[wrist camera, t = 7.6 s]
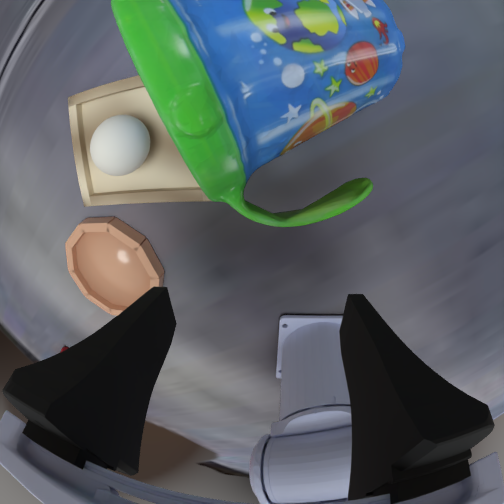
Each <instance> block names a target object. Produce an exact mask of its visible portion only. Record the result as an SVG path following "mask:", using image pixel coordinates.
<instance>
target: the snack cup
mask: <svg viewBox="0 0 504 504" xmlns="http://www.w3.org/2000/svg"><path fill="white" fill-rule="evenodd" d="M111 6H112V10H113V13H114V17H115V19H116V22H117V25H118V27H119V30H120V32H121V35H122V37H123V40H124V43H125V45H126V48H127V50H128V52H129V54H130V56H131V58H132V61H133V63H134V65H135V67H136V69H137V72H138V74H139V76H140V78H141V80H142V82H143V84H144V86H145V88H146V90H147V92H148V94H149V96H150V98H151V100H152V102H153V104H154V106H155V108H156V110H157V112H158V114H159V116H160V118H161V120H162V122H163V124H164V125H165V127H166V129H167V131H168V133H169V135H170V137H171V138H172V140H173V142H174V144H175V145H176V147H177V149H178V151H179V153H180V155H181V156H182V158H183V160H184V162H185V163H186V165H187V167H188V168H189V170H190V172H191V174H192V175H193V177H194V179H195V180H196V182H197V183H198V185H199V186H200V188H201V189H202V191H203V192H204V193H205V195H206V196H207V197H208V199H210V200H211V201H214V202H226V203H228V204H229V205H230V206H231V207H232V208H234V209H235V210H236V211H237V212H239V213H240V214H242V215H243V216H245V217H247V218H248V219H250V220H253V221H255V222H258V223H261V224H265V225H269V226H277V227H294V226H302V225H307V224H312V223H316V222H319V221H323V220H326V219H328V218H331V217H333V216H336V215H339V214H341V213H343V212H345V211H347V210H349V209H350V208H352V207H354V206H355V205H356V204H358V203H359V202H361V201H362V200H364V199H365V198H366V197H367V196H368V195H369V194H370V192H371V191H372V189H373V183H372V182H371V180H370V179H368V178H358V179H354V180H351V181H349V182H346V183H344V184H343V185H341V186H340V187H339V188H337V189H335V190H334V191H332V192H330V193H328V194H327V195H325V196H324V197H322V198H321V199H319V200H317V201H316V202H314V203H312V204H310V205H309V206H307V207H305V208H304V209H301V210H293V211H287V212H279V213H273V214H272V213H270V212H268V211H266V210H264V209H262V208H260V207H257V206H255V205H253V204H251V203H249V202H247V201H245V200H244V197H243V192H244V188H245V185H246V183H247V181H248V179H249V177H250V176H251V175H252V173H253V172H254V171H255V170H257V169H258V168H259V167H261V166H262V165H264V164H266V163H268V162H270V161H271V160H273V159H274V158H276V157H279V156H281V155H283V154H285V153H286V152H288V151H290V150H291V149H293V148H294V147H296V146H298V145H300V144H301V143H303V142H305V141H307V140H308V139H310V138H312V137H314V136H315V135H317V134H319V133H321V132H323V131H324V130H326V129H328V128H330V127H332V126H333V125H335V124H337V123H339V122H341V121H342V120H344V119H346V118H348V117H349V116H351V115H352V114H354V113H356V112H358V111H360V110H362V109H363V108H365V107H368V106H369V105H371V104H374V103H376V102H378V101H379V100H381V99H383V98H384V97H386V96H387V95H388V94H389V91H391V90H392V88H393V87H394V85H395V83H396V82H397V80H398V78H399V76H400V72H401V69H402V53H403V51H404V49H405V43H404V38H403V35H402V32H401V31H400V30H398V28H397V26H396V24H395V21H394V18H393V15H392V13H391V11H390V9H389V7H388V6H387V5H386V3H385V2H384V1H383V0H111Z"/></svg>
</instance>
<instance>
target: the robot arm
mask: <svg viewBox="0 0 504 504" xmlns="http://www.w3.org/2000/svg"><path fill="white" fill-rule="evenodd" d="M283 324H287V325H283ZM175 327H176V320H175V316H174V313H173V309H172V305H171V301H170V297H169V293H168V289H167V287H156V286H154V287H152V288H151V289H150V290H148V291H147V292H146V293H145V294H143V295H142V296H141V297H140V298H138V299H137V300H136V301H135V302H134V303H132V304H131V305H130V306H129V307H127V308H126V309H125V310H124V311H123V312H121V313H120V314H119V315H118V316H116V317H115V318H114V319H112V320H111V321H110V322H108V323H107V324H106V325H104V326H103V327H102V328H101V329H99V330H98V331H96V332H95V333H93V334H92V335H90V336H89V337H87V338H86V339H84V340H82V341H81V342H79V343H77V344H76V345H74V346H72V347H70V348H68V349H66V350H64V351H62V352H61V353H58V354H56V355H54V356H52V357H50V358H47V359H45V360H42V361H40V362H37V363H34V364H31V365H28V366H25V367H21V368H18V369H15V371H14V372H13V374H12V375H11V377H10V379H9V381H8V382H7V384H6V385H5V387H4V389H3V394H4V396H5V397H6V398H7V399H8V400H9V402H10V403H12V405H13V406H14V407H15V408H16V409H18V410H19V411H20V412H21V413H22V414H23V415H24V416H25V417H26V418H27V419H28V422H27V424H25V423H24V422H23V421H21V420H20V419H19V418H17V417H16V416H14V415H13V414H12V413H10V412H9V411H5V413H4V415H3V417H2V419H1V421H0V464H1V465H2V466H3V467H4V468H5V469H6V470H7V471H8V472H9V473H10V474H11V475H12V476H13V477H14V478H15V479H16V480H18V481H19V483H21V484H22V485H23V486H24V487H25V488H26V489H27V490H28V491H29V492H30V493H31V494H32V495H34V496H35V497H36V498H37V499H38V500H39V501H41V502H42V503H43V504H138V503H135V502H132V501H130V500H127V499H124V498H122V497H120V496H119V494H118V492H117V491H116V490H119V491H121V492H123V493H126V494H129V495H132V496H134V497H137V498H140V499H143V500H147V501H149V502H153V503H156V504H250V503H239V502H231V501H223V500H216V499H210V498H204V497H198V496H193V495H189V494H184V493H179V492H175V491H171V490H167V489H164V488H160V487H156V486H153V485H149V484H146V483H143V482H140V481H137V480H134V479H131V478H128V477H125V476H123V475H120V474H117V473H115V472H112V471H109V470H107V468H109V469H111V470H114V471H115V470H117V471H119V472H122V473H125V474H128V475H135V474H136V473H138V467H139V456H140V447H141V440H142V433H143V428H144V423H145V418H146V413H147V409H148V405H149V401H150V397H151V394H152V391H153V388H154V385H155V382H156V380H157V378H158V375H159V373H160V370H161V368H162V365H163V363H164V360H165V358H166V355H167V353H168V350H169V348H170V345H171V342H172V339H173V335H174V331H175ZM276 377H277V378H280V379H281V394H280V415H279V422H274V423H271V434H267V435H264V436H263V437H261V439H260V440H259V441H258V443H257V444H256V446H255V447H254V449H253V452H252V455H251V459H250V468H249V473H250V482H251V486H252V489H253V492H254V493H255V495H256V496H257V498H258V500H259V502H260V504H504V483H503V478H502V473H501V467H500V463H499V458H498V454H497V452H494V453H492V454H490V455H488V456H486V457H484V458H482V459H480V460H478V461H476V462H474V463H472V464H470V465H469V463H468V459H469V458H471V456H472V454H471V450H470V449H471V448H472V447H474V446H475V445H476V444H478V443H479V442H480V441H481V440H483V439H484V438H485V437H486V436H488V435H489V434H490V433H491V432H492V430H493V428H494V422H493V419H492V416H491V413H490V410H489V408H488V405H486V404H484V403H482V402H481V401H479V400H477V399H475V398H473V397H471V396H469V395H467V394H466V393H464V392H463V391H461V390H459V389H458V388H456V387H455V386H453V385H452V384H450V383H449V382H448V381H446V380H445V379H443V378H442V377H441V376H440V375H438V374H437V373H436V372H434V371H433V370H432V369H431V368H430V367H428V366H427V365H426V364H425V363H424V362H423V361H422V360H421V359H420V358H418V357H417V356H416V355H415V354H414V353H413V352H412V351H411V350H410V349H409V348H408V347H407V346H406V345H405V344H404V343H403V342H402V340H401V339H400V338H399V337H398V336H397V335H396V334H395V333H394V332H393V330H392V329H391V328H390V327H389V326H388V325H387V323H386V322H385V321H384V320H383V319H382V317H381V316H380V315H379V314H378V312H377V311H376V310H375V309H374V307H373V306H372V305H371V304H370V302H369V301H368V300H367V299H366V297H365V296H364V295H363V294H348V297H347V301H346V306H345V310H344V314H343V316H301V315H283V316H281V317H280V321H279V338H278V353H277V368H276ZM115 489H116V490H115ZM251 504H252V503H251Z"/></svg>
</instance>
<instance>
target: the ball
mask: <svg viewBox="0 0 504 504" xmlns="http://www.w3.org/2000/svg"><path fill="white" fill-rule="evenodd" d="M149 150H150V135H149V132H148V130H147V128H146V126H145V125H144V124H143V123H142V122H141V121H140V120H139V119H137V118H135V117H133V116H130V115H116V116H113V117H110V118H108V119H106V120H105V121H103V122H102V123H101V124H100V125H99V126H98V127H97V129H96V130H95V132H94V134H93V136H92V139H91V143H90V153H91V157H92V160H93V162H94V164H95V165H96V166H97V168H98V169H100V170H101V171H102V172H104V173H106V174H108V175H112V176H123V175H127V174H129V173H132V172H133V171H135V170H136V169H138V168H139V167H140V166H141V165H142V164H143V162H144V161H145V159H146V158H147V155H148V153H149Z"/></svg>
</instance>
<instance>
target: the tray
mask: <svg viewBox="0 0 504 504" xmlns="http://www.w3.org/2000/svg"><path fill="white" fill-rule="evenodd" d="M68 105H69V117H70V127H71V136H72V143H73V150H74V157H75V163H76V169H77V174H78V180H79V185H80V189H81V194H82V199H83V203H84V207H85V206H99V205H114V204H132V203H154V202H188V201H211V200H210V199H208V197H207V196H206V195H205V193H204V192H203V191H202V189H201V188H200V186H199V185H198V183H197V182H196V180H195V179H194V177H193V175H192V174H191V172H190V170H189V168H188V167H187V165H186V163H185V162H184V160H183V158H182V156H181V155H180V153H179V151H178V149H177V147H176V145H175V144H174V142H173V140H172V138H171V137H170V135H169V133H168V131H167V129H166V127H165V125H164V124H163V122H162V120H161V118H160V116H159V114H158V112H157V110H156V108H155V106H154V104H153V102H152V100H151V98H150V96H149V94H148V92H147V90H146V88H145V86H144V84H143V82H142V80H141V78H140V76H135V77H131V78H127V79H123V80H119V81H116V82H112V83H109V84H105V85H102V86H99V87H96V88H93V89H90V90H87V91H84V92H81V93H78V94H76V95H73V96H70V97H68ZM116 115H130V116H133V117H135V118H137V119H139V120H140V121H141V122H142V123H143V124H144V125H145V126H146V128H147V130H148V132H149V135H150V150H149V153H148V155H147V158H146V159H145V161H144V162H143V164H142V165H141V166H140V167H139V168H138V169H136V170H135V171H133V172H132V173H129V174H127V175H123V176H112V175H108V174H106V173H104V172H102V171H101V170H100V169H98V168H97V166H96V165H95V164H94V162H93V160H92V157H91V153H90V143H91V139H92V136H93V134H94V132H95V130H96V129H97V127H98V126H99V125H100V124H101V123H102V122H103V121H105V120H106V119H108V118H110V117H113V116H116Z"/></svg>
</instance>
